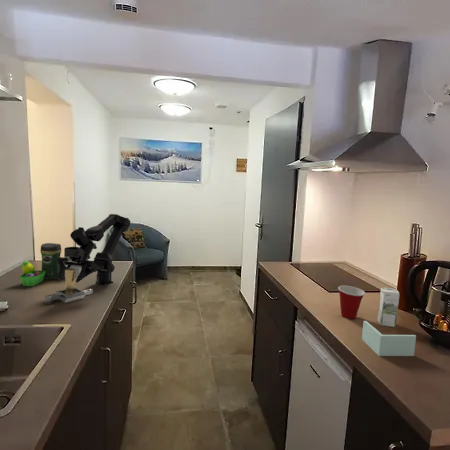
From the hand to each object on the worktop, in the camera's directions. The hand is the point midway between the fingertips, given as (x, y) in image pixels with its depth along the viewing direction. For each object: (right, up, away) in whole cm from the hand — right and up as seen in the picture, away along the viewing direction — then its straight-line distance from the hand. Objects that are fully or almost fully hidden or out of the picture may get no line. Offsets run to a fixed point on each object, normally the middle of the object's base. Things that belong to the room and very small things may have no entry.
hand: (67, 280), depth 151 cm
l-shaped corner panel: (+125, -18, -32) cm, 131 cm away
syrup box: (+134, -16, -13) cm, 136 cm away
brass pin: (0, -8, +2) cm, 8 cm away
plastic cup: (+122, -14, -6) cm, 123 cm away
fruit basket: (-27, -5, +21) cm, 35 cm away
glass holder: (-13, -3, +40) cm, 42 cm away
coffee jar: (-23, -4, +31) cm, 39 cm away
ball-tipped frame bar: (0, -8, +2) cm, 8 cm away
